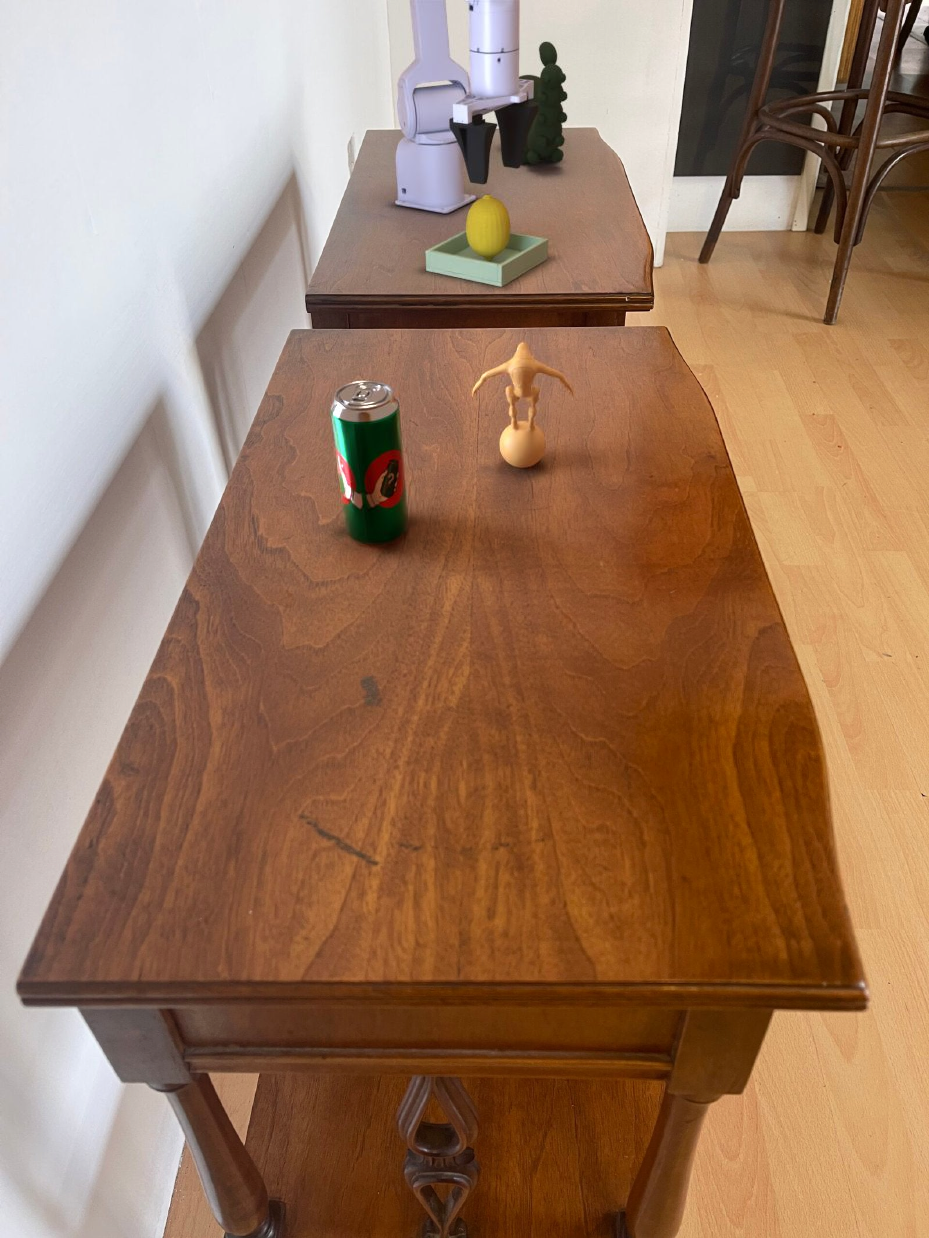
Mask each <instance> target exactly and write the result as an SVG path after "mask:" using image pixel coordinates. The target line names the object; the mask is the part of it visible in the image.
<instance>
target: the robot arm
mask: <svg viewBox="0 0 929 1238" xmlns="http://www.w3.org/2000/svg"><path fill="white" fill-rule="evenodd" d="M464 1H465V2H466V3H467V5H468V41H469V42H468V44H469V45H468V47H469V48H468V49H469V72H468V71H467V70H466V69H465V67H463V66H462V65H460V64H459V63H458V62H456V61H455V60H454V59H452V58H451V52H450V40H449V28H448V27H449V26H448V25H449V24H448V15H447V2H446V0H409V7H410V18H411V29H412V40H413V48H414V49H413V52H414V60H413V61H412V62H411V63H410V64H409V65H408V66H407V67H406V69H404V70H403V72H401V74H400V76H399V77H398V79H397V84H396V85H397V103H396V104H397V117H398V123H399V127H400V130H401V132H402V134H403V135H404V136H403V137H402V138H401V139H400V140H399V142H398V143H397V146H396V151H395V157H394V159H395V173H396V186H397V187H396V188H397V199H396V200H395V201H394V204H395V205H397V206H402V207H408V208H413V209H419V210H424V211H430V212H436V213H442V214H449V213H451V212H453V211H456V210H457V209H459V208H461V207H463V206H465V205H467V204H469V203H471V202H475V201H477V196H476V195H473V194H469V193H468V194H467V193H465V178H464V177H465V176H464V175H465V173H464V165H465V169H466V172H467V176H468V179H469V183H470V184H478V185H483V186H485V185H486V184H487V183H488V179H489V178H488V177H489V174H490V157H491V149H492V144H493V139H494V136H495V133H496V130H497V128H498V132H499V138H500V153H501V161H502V165H503V167H504V168H511V169H517V170H518V169H520V168H521V165H522V163H521V161H522V157H523V152H524V148H525V144H526V140H527V136H528V133H529V130H530V128H531V125H532V123H533V120H534V118H535V116H536V115H537V113H538V111H539V104H538V103H536V102H529V101H528V99H532V98H533V92H534V81H533V80H523V79H519V77H520V18H521V17H520V13H521V12H520V5H521V4H520V1H521V0H464ZM445 81H448V82H449V83H447V84H439V85H429V86H419V87H417V86H418V85H421V84H424V83H433V82H445ZM490 113H494V115H495V118H496V119H495V120H496V122H497V123H495V122H488V121H486V118H484V116H485V115H487V114H490Z"/></svg>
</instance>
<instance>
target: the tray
mask: <svg viewBox="0 0 929 1238" xmlns="http://www.w3.org/2000/svg"><path fill="white" fill-rule="evenodd" d="M424 252H425V270H426V271H427V272H430V273H436V274H440V275H445V276H449V277H455V278H459V279H462V280H468V281H471V282H472V281H473V282H477V283H481V284H482V283H483V284H487V285H491V286H496V287H500V288H501V287H502V288H503V287H504V286H505V285H507V284H509V283H511V282H512V281H514V280H515V279H517V278H519V277H520V276H522V275H524V274H525V273H527V272H528V271H530V270H532V269H533V268H536V267H537V266H538V265H540V264H542V263H543V262H545V261H547V260H548V259H549V238H545V237H541V236H535V235H529V234H524V233H519V232H513V231H510V238H509V242H508V244H507V246H506V248H505V249H504V250H503V251H502V252H501V253H500V254H498V255H496V256H494V258H493V259H492V260H491V261H487V260H486V259H485V258H484V257H483V256H480V255H478V254H477V253H475V252H474V251H473V250H472V248H471V247H470V245H469V243H468V240H467V234H466V229H465V230H463V231H461V232H459V233H457V234H454V235H453V236H451V237H449V238H448V239H447V238H446V239H445V240H443V241H442V242H440V243H438V244H436V245H434V246H432V247H430V248H428V249H426V250H425V251H424Z"/></svg>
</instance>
